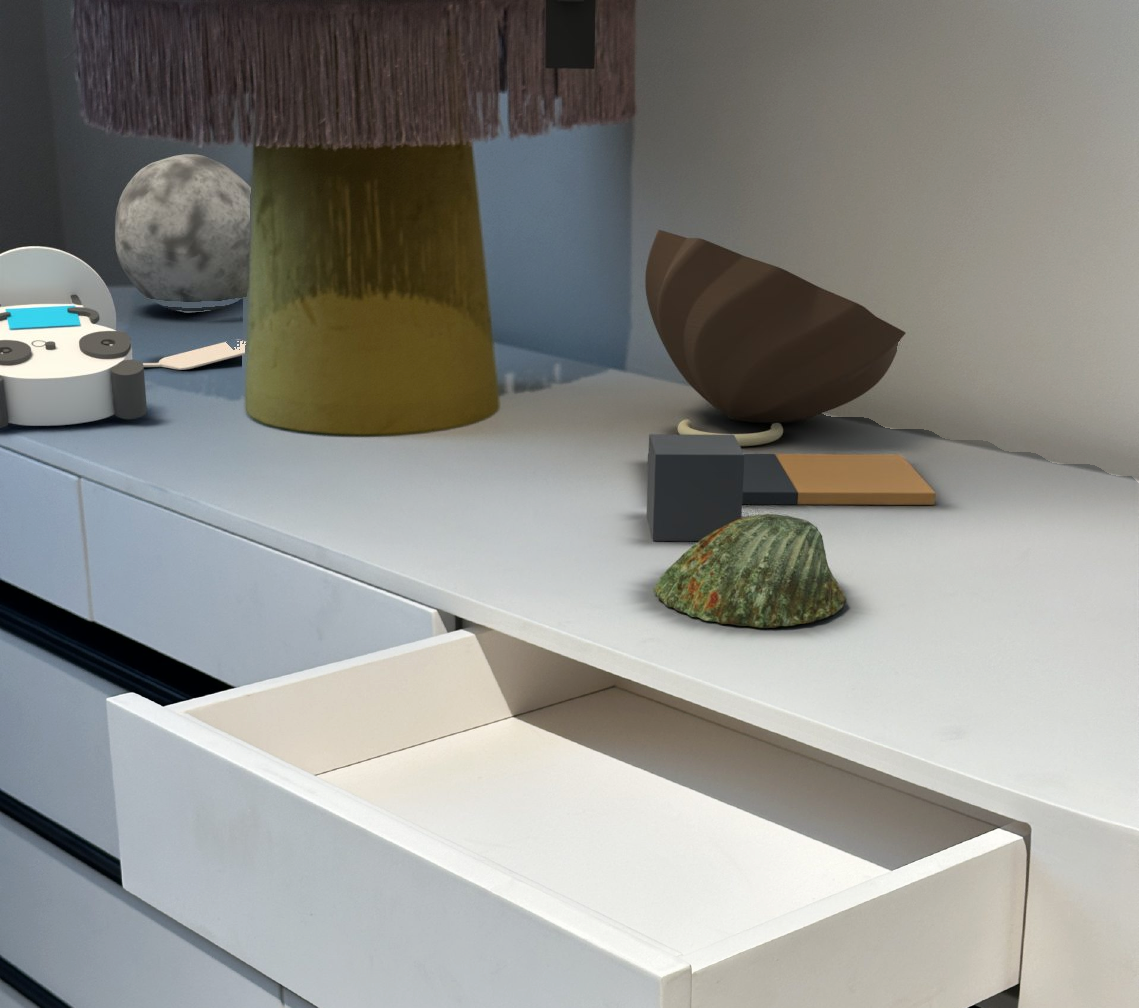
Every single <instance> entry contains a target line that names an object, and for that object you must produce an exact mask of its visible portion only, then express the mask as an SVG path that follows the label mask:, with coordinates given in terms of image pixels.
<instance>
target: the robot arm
mask: <svg viewBox="0 0 1139 1008" xmlns="http://www.w3.org/2000/svg"><path fill="white" fill-rule="evenodd" d="M596 3H597V2H596V0H545V49H544V50H545V58H544V59H545V65H544V66H545V67H544V68H545V69H569V70H570V69H572V70H573V69H575V70H577V69H579V70H582V69H583V70H584V69H585V70H595V64H596V63H595V62H596V61H595V58H596V57H595V56H596V55H595V54H596V53H595V52H596Z"/></svg>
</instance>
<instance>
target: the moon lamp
mask: <svg viewBox="0 0 1139 1008" xmlns="http://www.w3.org/2000/svg"><path fill="white" fill-rule="evenodd" d="M251 188H252V187H251V186H250V185H249V184H248V183H247V182H246V181H245V180H244V179H243V178H242V177H241V176H240V175H238V174H237V173H235V172H234V171H233V170H232V169H230V168H229V167H228V166H226V165H225V164H223V163H221V162H219V161H217V160H214V159H212V158H209V157H207V156H204V155H201V154H193V153H192V154H190V153H185V154H179V155H173V156H170V157H166V158H163V159H159V160H157V161H154V162H151V163H149V164H147V165H145V166H144V167H142V168H141V169H140V170H138V172H136V173H135V175H133V177H132V178H131V179H130V181H128V183H127V184H126V186H125V188H124V189H123V191H122V192H121V195H120V197H119V200H118V204H117V207H116V211H115V218H114V220H115V221H114V226H115V227H114V239H115V240H114V241H115V242H114V243H115V251H116V254H117V259H118V262H119V264H120V266H121V268H122V269H123V271H124V273H125V275H126V276H127V278H128V279H129V281H130V282H131V284H132V285H133V286H134V287H135V288H136V290H137V291H139V293H141V294H142V295H143V296H144V297H145V298H147V299H148V298H150V299H156V300H164V301H181V302H182V301H183V302H201V301H222V300H228V299H235V298H243V297H245V298H247V297H248V296H247V289H248V257H249V244H250V194H251ZM150 299H149V300H150ZM243 299H244V298H243ZM232 305H233V304H231V305H225V306H215V307H202V308H182V307H168V306H161V305H159V306H160V307H162V308H164V309H167V308H168V310H170V309H172V310H171V311H173V310H182V311H204V310H214V311H216V310H215V309H218V310H220V309H219V308H221V309H225V308H228V307H230V306H232Z"/></svg>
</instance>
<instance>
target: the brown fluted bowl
mask: <svg viewBox="0 0 1139 1008" xmlns="http://www.w3.org/2000/svg"><path fill="white" fill-rule="evenodd" d="M645 266H646V267H645V275H644V276H645V278H644V283H645V284H644V285H645V286H644V287H645V296H646V301H647V306H648V310H649V312H650V313H649V314H650V317H651V319H652V322H653V325H654V328H655V329H656V332H657V334H658V336H659V339H660V341H661V343H662V345H663V347H664V349H665V350H666V352H667V354H668V356H669V358H670V359H671V361H672V363H673V364H674V366H675V367H676V369H677V371H678V372H679V374H680V375H681V376H682V377H683V378H684V380H685V381H686V382H687V383H688V385H690V386H691V388H692V389H693V390H694V391H695V392H696V393H697V394H698V395H699V396H701V397H702V398H703V399H704V400H705V401H706V402H707V403H709V404H710V405H711V406H712V407H714V408H715V409H716V410H718V411H719V412H720V413H722V414H723V415H725V416H726V417H727V418H728V419H730V420H736V421H740V422H741V421H742V422H747V423H755V424H774V423H779V424H787V423H794V422H799V421H803V420H806V419H809V418H812V417H816V416H817V415H820V414H823V413H826V412H829V411H832V410H835V409H837V408H840V407H842V406H844V405H846V404H848V403H851V402H852V401H854V400H856V399H858V398H859V397H861V396H863V395H864V394H866V393H868V392H869V391H870V390H872V389H873V388H874V387H875V386H876V385H877V384H879V383H880V381H881V380H882V379H883V378H884V376H885V375H886V374H887V372H888V371H889V370H890V368H891V366H892V364H893V362H894V359H895V357H896V355H897V353H898V350H897V346H898V342H899V341H900V340H901V339H902V338H903V337H904V336H905V335H906V334H907V333H906V331H904V330H902V329H900V328H899V327H896V326H894V325H893V324H891V323H889V322H887V321H885V320H883V319H882V318H880V317H878V316H876V315H875V314H874V313H872V312H871V311H870V310H869V309H868V308H867V307H865V306H864V305H862V304H860V303H858V302H856V301H853V300H851V299H848V298H846V297H844V296H841V295H839V294H836V293H834V292H832V291H830V290H827V289H824V288H822V287H820V286H818V285H817V284H813V283H812V282H810V281H808V280H806V279H804V278H802V277H801V276H798V275H796V274H794V273H792V272H790V271H789V270H786V269H784V268H781V267H780V266H776V265H773V264H770V263H767V262H764V261H761V260H759V259H755V258H752V257H749V256H746V255H743V254H740V253H739V252H736V251H734V250H731V249H728V248H726V247H724V246H722V245H718V244H716V243H714V242H711V241H709V240H706V239H703V238H701V237H685V236H681V235H679V234H675V233H672V232H669V231H665V230H662V229H658V230H657V232H656V234H655V236H654V239H653V241H652V244H651V247H650V249H649V254H648V258H647V262H646V265H645ZM900 342H901V341H900Z"/></svg>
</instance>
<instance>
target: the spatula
mask: <svg viewBox="0 0 1139 1008" xmlns="http://www.w3.org/2000/svg"><path fill="white" fill-rule="evenodd" d="M243 341H244V344H242V343H243ZM226 342H227V341H223V342H219V343H216V344H212V345H208V346H204V347H201V348H196V349H193V350H189V351H184V352H180V353H176V354H173V355H169V356H165V357H163V358H161V359H159V361H158V362H142V363H143V365H144V368H168V369H173V370H178V371H182V370H190V369H194V368H199V367H202V366H206V365H209V364H213V363H218V362H221V361H224V360H225V361H226V360H228V359H233V358H237V357H240V356H244V355H246V354H245V345H246V344H245V343H246V342H247V341H245V340H242V341H240V347H237V349H236V347H234V348H235V350H233V349H232V348H231V347H230V346H229V345H228V344H227V343H226ZM237 342H239V341H237ZM237 346H239V344H237ZM239 349H240V350H239Z"/></svg>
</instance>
